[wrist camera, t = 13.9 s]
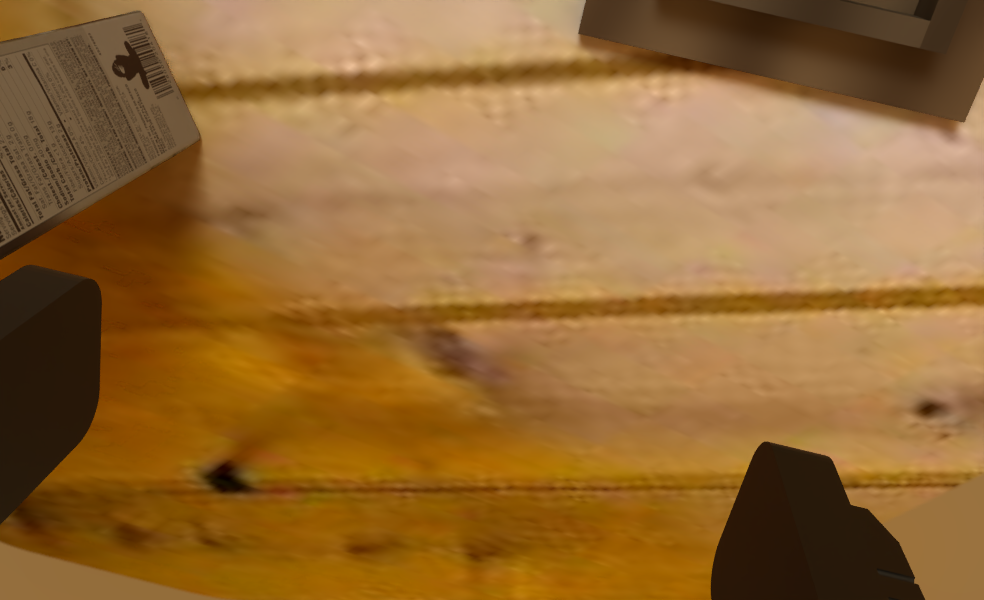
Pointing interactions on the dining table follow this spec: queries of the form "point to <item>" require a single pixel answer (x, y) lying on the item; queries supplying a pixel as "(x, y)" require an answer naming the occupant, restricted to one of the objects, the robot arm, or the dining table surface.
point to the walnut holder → (819, 43)
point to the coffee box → (82, 120)
